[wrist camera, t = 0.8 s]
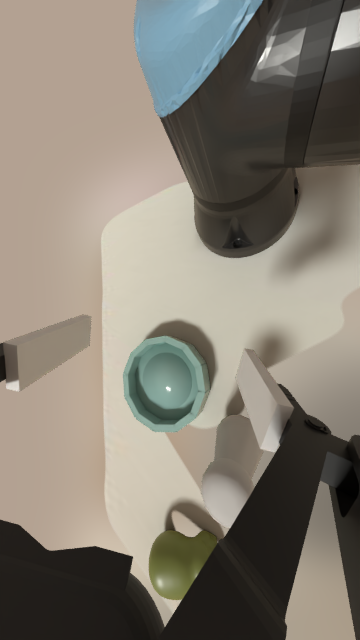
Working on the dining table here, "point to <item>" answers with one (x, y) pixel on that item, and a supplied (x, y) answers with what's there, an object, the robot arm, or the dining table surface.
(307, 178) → the dining table surface
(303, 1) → the robot arm
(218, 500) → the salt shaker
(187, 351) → the dish
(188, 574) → the pear
